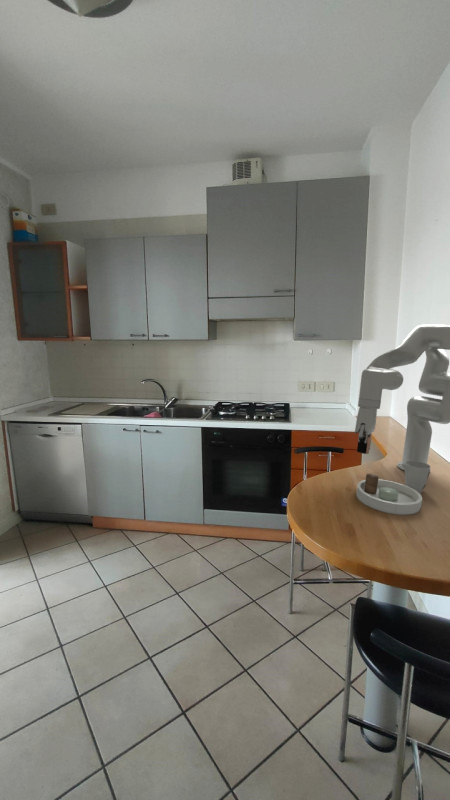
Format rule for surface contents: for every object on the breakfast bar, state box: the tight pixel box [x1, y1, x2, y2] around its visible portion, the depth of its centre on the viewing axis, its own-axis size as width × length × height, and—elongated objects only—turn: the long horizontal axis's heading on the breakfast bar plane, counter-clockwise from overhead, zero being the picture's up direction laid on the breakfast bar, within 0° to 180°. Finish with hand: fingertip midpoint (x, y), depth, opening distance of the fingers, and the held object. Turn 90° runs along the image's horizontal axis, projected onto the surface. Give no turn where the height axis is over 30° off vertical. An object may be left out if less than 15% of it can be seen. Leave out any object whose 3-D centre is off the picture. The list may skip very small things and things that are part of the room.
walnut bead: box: [364, 473, 380, 494], centre depth 126 cm, size 4×4×6 cm
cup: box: [404, 461, 431, 494], centre depth 131 cm, size 8×8×10 cm
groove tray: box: [355, 478, 423, 516], centre depth 122 cm, size 20×20×4 cm
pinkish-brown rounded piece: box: [361, 436, 372, 455], centre depth 134 cm, size 4×4×6 cm
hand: (363, 450), depth 134 cm, fingers closed on pinkish-brown rounded piece, 4 cm apart
